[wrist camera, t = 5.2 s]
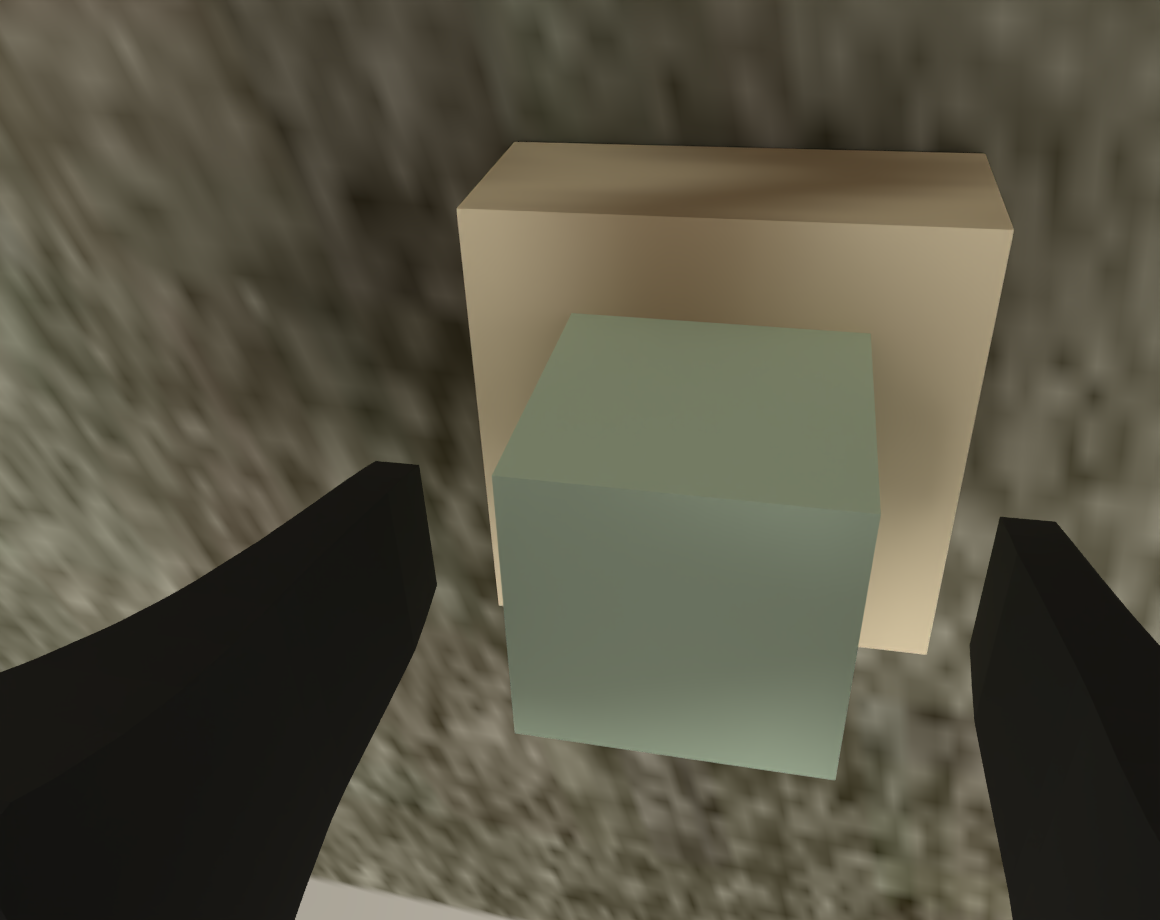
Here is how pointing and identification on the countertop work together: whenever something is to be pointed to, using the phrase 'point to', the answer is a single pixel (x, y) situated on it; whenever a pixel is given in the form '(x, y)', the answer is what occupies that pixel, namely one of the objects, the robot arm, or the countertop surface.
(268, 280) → the countertop surface
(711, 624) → the sage block
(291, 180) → the countertop surface
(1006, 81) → the countertop surface
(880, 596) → the maple block
